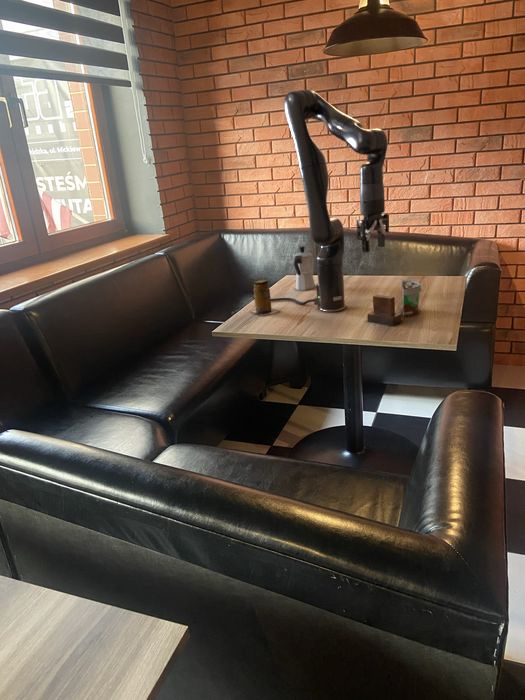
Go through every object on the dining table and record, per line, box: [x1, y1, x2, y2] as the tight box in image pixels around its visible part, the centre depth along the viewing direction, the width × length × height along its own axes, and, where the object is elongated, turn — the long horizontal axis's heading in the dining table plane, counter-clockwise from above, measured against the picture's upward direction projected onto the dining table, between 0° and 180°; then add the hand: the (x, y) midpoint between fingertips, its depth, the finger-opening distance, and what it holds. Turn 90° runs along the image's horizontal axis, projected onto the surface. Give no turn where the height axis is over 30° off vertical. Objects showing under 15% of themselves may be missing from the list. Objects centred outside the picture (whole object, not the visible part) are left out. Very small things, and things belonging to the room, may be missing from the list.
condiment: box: [250, 279, 279, 316], centre depth 202 cm, size 7×8×12 cm
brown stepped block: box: [366, 294, 402, 327], centre depth 178 cm, size 10×5×9 cm, turn 45°
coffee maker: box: [292, 245, 316, 291], centre depth 228 cm, size 15×9×18 cm, turn 154°
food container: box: [401, 280, 422, 318], centre depth 183 cm, size 12×6×10 cm, turn 169°
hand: (373, 249), depth 173 cm, fingers open, 8 cm apart
